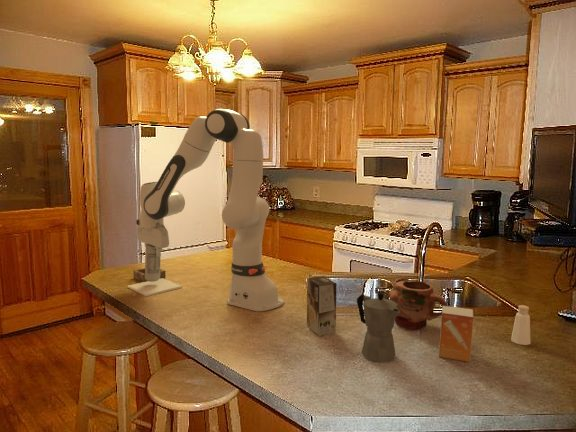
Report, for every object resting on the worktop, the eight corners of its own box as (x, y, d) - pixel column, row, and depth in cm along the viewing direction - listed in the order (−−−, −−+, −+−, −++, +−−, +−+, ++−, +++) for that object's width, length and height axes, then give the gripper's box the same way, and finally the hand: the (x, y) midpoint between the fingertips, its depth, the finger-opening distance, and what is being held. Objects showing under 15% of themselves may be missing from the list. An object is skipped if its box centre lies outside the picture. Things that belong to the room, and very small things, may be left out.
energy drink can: (160, 276, 185) (161, 242, 181) (159, 282, 179) (160, 247, 176) (145, 276, 184) (146, 242, 180) (144, 282, 178) (144, 247, 174)
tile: (182, 287, 181) (182, 286, 181) (146, 296, 170) (145, 294, 169) (162, 279, 192) (162, 278, 192) (127, 287, 181) (127, 285, 181)
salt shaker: (507, 337, 134) (510, 303, 132) (525, 337, 134) (528, 303, 132) (515, 345, 128) (518, 309, 127) (534, 345, 128) (537, 309, 127)
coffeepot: (408, 359, 119) (411, 296, 116) (384, 369, 114) (387, 303, 111) (367, 339, 132) (369, 282, 129) (344, 347, 126) (345, 287, 124)
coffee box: (336, 333, 136) (337, 283, 134) (318, 336, 134) (319, 285, 132) (323, 322, 145) (323, 275, 143) (305, 325, 142) (306, 277, 140)
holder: (165, 278, 194) (165, 270, 193) (144, 283, 187) (144, 275, 186) (154, 273, 201) (154, 266, 200) (133, 278, 194) (133, 270, 194)
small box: (438, 357, 120) (441, 312, 119) (439, 348, 126) (442, 305, 124) (470, 362, 118) (473, 316, 116) (470, 352, 123) (473, 308, 121)
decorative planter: (452, 327, 141) (455, 286, 139) (440, 340, 131) (442, 296, 129) (394, 313, 153) (396, 275, 151) (379, 324, 143) (380, 283, 141)
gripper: (172, 224, 172) (173, 258, 174) (147, 218, 186) (148, 250, 188) (157, 225, 167) (159, 261, 169) (133, 220, 182) (135, 252, 184)
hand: (153, 255), depth 179 cm, fingers closed on energy drink can, 6 cm apart
